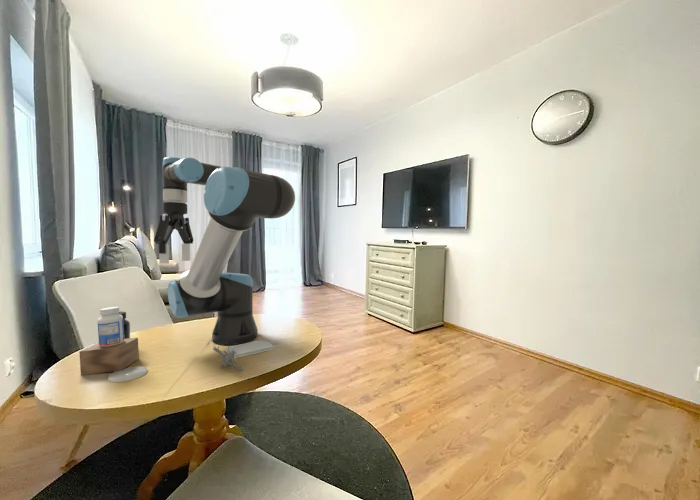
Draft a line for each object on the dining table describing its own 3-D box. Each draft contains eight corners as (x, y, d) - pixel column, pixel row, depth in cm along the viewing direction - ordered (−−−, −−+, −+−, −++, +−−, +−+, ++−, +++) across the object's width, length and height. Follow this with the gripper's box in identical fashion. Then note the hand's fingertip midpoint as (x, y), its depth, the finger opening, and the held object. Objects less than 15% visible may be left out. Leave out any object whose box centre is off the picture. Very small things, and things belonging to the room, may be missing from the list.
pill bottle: (109, 341, 82) (107, 306, 82) (129, 340, 82) (127, 305, 82) (93, 348, 77) (91, 310, 77) (114, 346, 77) (112, 309, 77)
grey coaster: (154, 369, 79) (154, 366, 79) (132, 383, 71) (132, 380, 71) (124, 369, 79) (124, 366, 79) (99, 383, 71) (99, 380, 71)
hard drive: (263, 339, 101) (225, 346, 93) (273, 346, 95) (233, 354, 87) (263, 343, 101) (225, 351, 93) (273, 351, 95) (233, 360, 87)
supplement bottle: (114, 356, 87) (114, 316, 87) (96, 354, 89) (95, 315, 88) (135, 348, 94) (135, 311, 94) (118, 346, 95) (117, 309, 95)
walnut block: (138, 358, 85) (137, 337, 85) (120, 370, 76) (119, 347, 76) (103, 362, 83) (102, 340, 83) (80, 375, 75) (79, 351, 74)
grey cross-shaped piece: (250, 361, 86) (250, 361, 78) (235, 379, 83) (233, 382, 75) (224, 339, 86) (220, 337, 77) (208, 357, 83) (202, 357, 75)
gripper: (183, 206, 118) (184, 259, 118) (140, 197, 93) (141, 264, 94) (202, 206, 118) (203, 259, 119) (164, 197, 93) (165, 264, 94)
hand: (175, 262), depth 106 cm, fingers open, 13 cm apart
